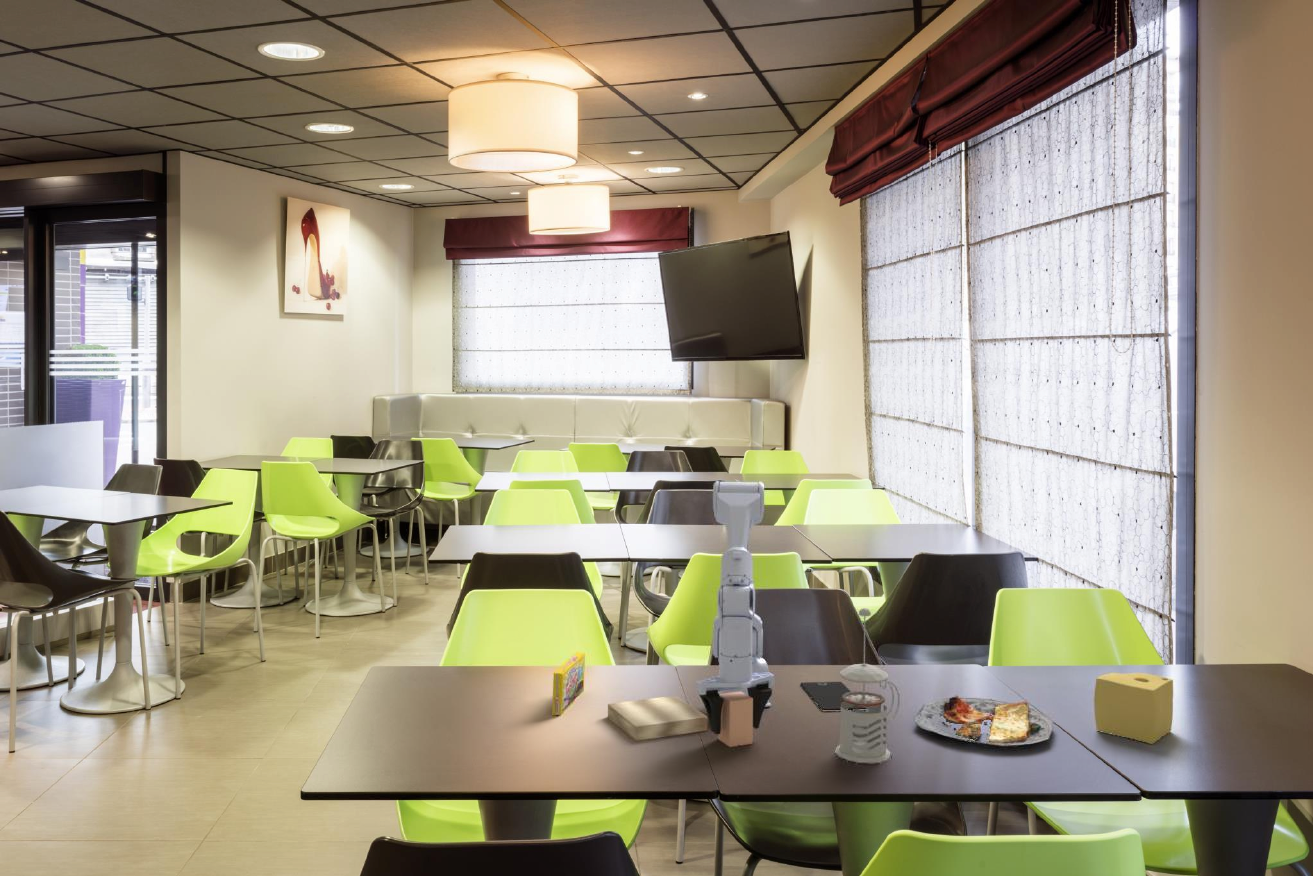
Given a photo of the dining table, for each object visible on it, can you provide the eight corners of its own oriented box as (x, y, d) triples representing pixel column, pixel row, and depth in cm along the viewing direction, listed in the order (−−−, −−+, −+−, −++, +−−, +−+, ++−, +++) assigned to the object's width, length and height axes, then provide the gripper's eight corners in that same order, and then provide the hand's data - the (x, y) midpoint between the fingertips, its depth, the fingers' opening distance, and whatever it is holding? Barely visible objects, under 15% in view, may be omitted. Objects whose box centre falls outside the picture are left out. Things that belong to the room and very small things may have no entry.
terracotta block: (740, 735, 182) (740, 691, 181) (752, 743, 178) (752, 698, 177) (717, 738, 180) (718, 694, 180) (729, 747, 176) (730, 701, 175)
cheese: (1115, 719, 192) (1116, 666, 191) (1175, 733, 184) (1177, 678, 184) (1092, 732, 184) (1093, 677, 184) (1154, 747, 177) (1156, 690, 176)
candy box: (562, 716, 192) (562, 673, 192) (551, 716, 192) (551, 672, 192) (585, 691, 208) (585, 651, 207) (575, 691, 208) (575, 651, 208)
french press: (822, 747, 175) (824, 604, 174) (879, 739, 180) (881, 599, 179) (854, 767, 166) (856, 616, 165) (913, 758, 171) (915, 611, 169)
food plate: (932, 700, 202) (933, 683, 202) (1057, 719, 192) (1058, 700, 192) (904, 743, 180) (905, 724, 179) (1045, 766, 169) (1045, 746, 169)
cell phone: (841, 685, 214) (841, 681, 214) (867, 712, 196) (867, 707, 196) (799, 686, 213) (799, 682, 213) (822, 713, 195) (822, 709, 195)
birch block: (675, 710, 197) (675, 695, 197) (707, 733, 184) (707, 716, 184) (607, 719, 192) (607, 704, 191) (636, 743, 179) (636, 726, 179)
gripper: (708, 663, 171) (708, 742, 172) (783, 654, 177) (782, 731, 178) (691, 653, 178) (690, 729, 179) (763, 645, 184) (762, 719, 184)
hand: (735, 729), depth 179 cm, fingers open, 7 cm apart
